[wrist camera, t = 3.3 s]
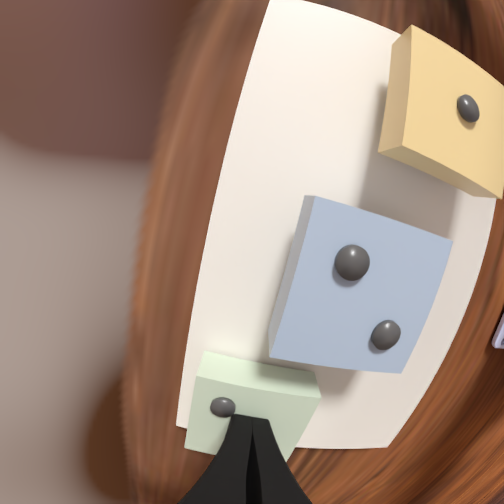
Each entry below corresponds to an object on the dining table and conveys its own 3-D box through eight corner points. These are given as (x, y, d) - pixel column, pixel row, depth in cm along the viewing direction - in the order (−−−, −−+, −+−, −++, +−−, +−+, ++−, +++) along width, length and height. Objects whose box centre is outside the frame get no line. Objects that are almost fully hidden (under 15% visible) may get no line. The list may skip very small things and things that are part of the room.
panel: (487, 103, 9) (514, 95, 7) (381, 434, 13) (392, 459, 11) (271, 9, 9) (272, -21, 7) (181, 410, 13) (170, 440, 11)
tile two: (425, 232, 8) (456, 242, 6) (383, 349, 9) (403, 376, 7) (304, 195, 8) (316, 196, 6) (267, 329, 9) (269, 361, 7)
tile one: (480, 96, 7) (508, 87, 5) (472, 196, 8) (505, 199, 6) (391, 44, 7) (413, 21, 5) (377, 152, 8) (405, 144, 6)
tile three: (314, 371, 11) (322, 401, 9) (282, 439, 11) (284, 467, 10) (204, 350, 10) (194, 379, 9) (191, 422, 11) (183, 450, 10)
